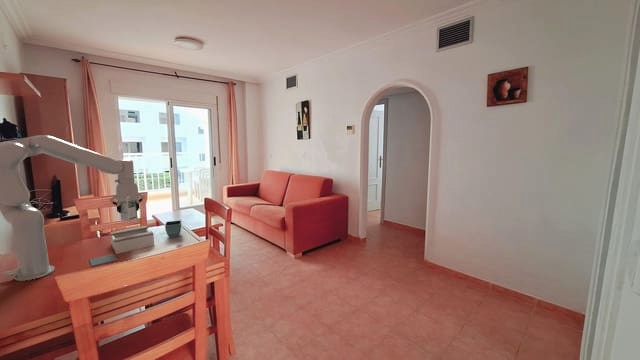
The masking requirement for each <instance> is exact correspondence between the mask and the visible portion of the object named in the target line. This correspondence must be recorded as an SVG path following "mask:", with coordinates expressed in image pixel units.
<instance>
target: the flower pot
mask: <svg viewBox="0 0 640 360" xmlns="http://www.w3.org/2000/svg"><path fill="white" fill-rule="evenodd" d="M164 228H165V232H166V235H167V237H168V238H170V239H171V238H179V237H180V235H181V232H182V231H181V230H182V220H181V219H180V220H172V221H166V222H165V224H164Z"/></svg>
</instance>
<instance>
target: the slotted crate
mask: <svg viewBox="0 0 640 360" xmlns="http://www.w3.org/2000/svg"><path fill="white" fill-rule="evenodd" d="M109 234H110V235H109V236H110V241H111V243H110V244H111V246H112V249H113V250H114V253H115V254H116V255H118V254H123V253H127V252H131V251H136V250H139V249H144V248H149V247H152V246H155V234H154V232H153V231H151V230H150V229H149V228H148V226H147V225H141V226H138V227H137V226H136V227H131V228H126V229H121V230H114V231H111V232H109Z"/></svg>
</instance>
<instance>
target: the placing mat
mask: <svg viewBox="0 0 640 360" xmlns="http://www.w3.org/2000/svg"><path fill="white" fill-rule="evenodd" d="M116 261H118V259H117V257H116V255H115V253H111V254H106V255H102V256H98V257H94V258H90V259H89V263H90V266H91V267H97V266H100V265H101V266H102V265H105V264H109V263H113V262H116Z"/></svg>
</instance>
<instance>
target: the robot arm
mask: <svg viewBox="0 0 640 360" xmlns="http://www.w3.org/2000/svg"><path fill="white" fill-rule="evenodd" d="M41 154H45V155H48V156H50V157H54V158H57V159H60V160H63V161H66V162H69V163H72V164H75V165H79V166H83V167H84V166H86V167H89V168H93V169H96V170H98V171H100V172H101V173H104V174H111V175H117V179H115V180H114V183H117V184H116V187H115V188H116V189H115V190H116V191H115V195H113V196H112V197H110V198H109V199H108V200H109V202H111V203H112V204H113V205H114V206H116V212H118V213H119V214H120V213H121V208H120V203H121V202H125V201H126V200H125V196H129V197H130V201H136V205H137V212H139V209H141V208H140V204H141V202H142V201H143V200H144V198H145V197H146V196H145V195H144V194H141V193H140V192H139V188H138V183H137V182H135V171H134V170H135V169H134V161H133V160H132V159H115V158H113V157H109V156H107V155H104V154H101V153H99V152H95V151H93V150H90V149H88V148H83V147H82V146H78V145H76V144H73V143H70V142H69V141H65V140H63V139H60V138H57V137H55V136H52V135H48V134H44V135H43V134H38V135H31V136H27V137H22V138H18V139H13V140H7V141H6V140H5V141H2V142H1V141H0V214H1V215H2V217H3V218H4V220H5V221H6V222H7V223H9V224H10V225H11V226H12V240H13V244H14V251H15V257H16V262H17V268H14V269H13V270H7V271H3V277H7V278H8V277H14V280H15V281H16V282H17V281H18V282H26V280H27V281H31V280H32V279H33V280H35V279H36V278H37V279H40V278H43V277H46V276H48V275H49V274H50V275H51V274H52V273H53V272H55V269H56V268H55V266H53V265H50V260H49V254H48V245H47V241H46V235H45V216H44V214H43V212H42V211H41V210H40V209H38V208H36V207H34V206H32V203H31V202H30V198H31V193H30V191H29V188H28V187H27V186H26V183H25V182H24V180H23V177H22V176H21V173H20V170H19V165H20V164H21V162H23V161H25V159H26V158H28V157H33V156H38V155H41ZM115 199H116V200H117V201H114V200H115ZM33 280H32V281H33Z"/></svg>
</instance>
